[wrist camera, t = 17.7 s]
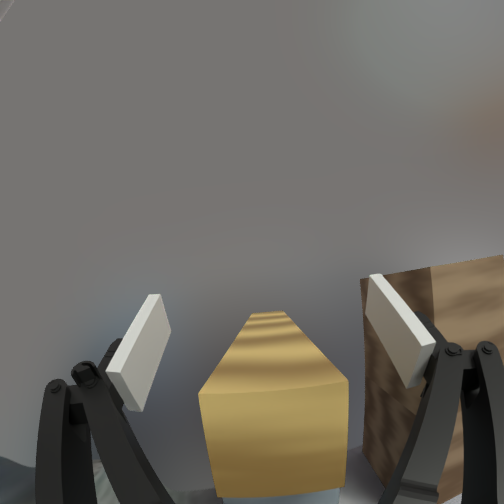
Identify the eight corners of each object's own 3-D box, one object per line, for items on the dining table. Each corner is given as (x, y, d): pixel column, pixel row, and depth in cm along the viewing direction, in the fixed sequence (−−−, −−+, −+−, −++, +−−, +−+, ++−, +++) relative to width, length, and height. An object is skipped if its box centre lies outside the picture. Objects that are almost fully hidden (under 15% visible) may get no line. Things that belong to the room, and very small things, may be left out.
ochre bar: (344, 486, 6) (348, 380, 7) (217, 497, 6) (197, 393, 7) (285, 340, 36) (282, 310, 36) (254, 342, 36) (252, 313, 36)
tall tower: (474, 485, 14) (502, 254, 18) (405, 519, 15) (430, 266, 19) (417, 434, 32) (419, 270, 36) (362, 451, 32) (359, 279, 36)
